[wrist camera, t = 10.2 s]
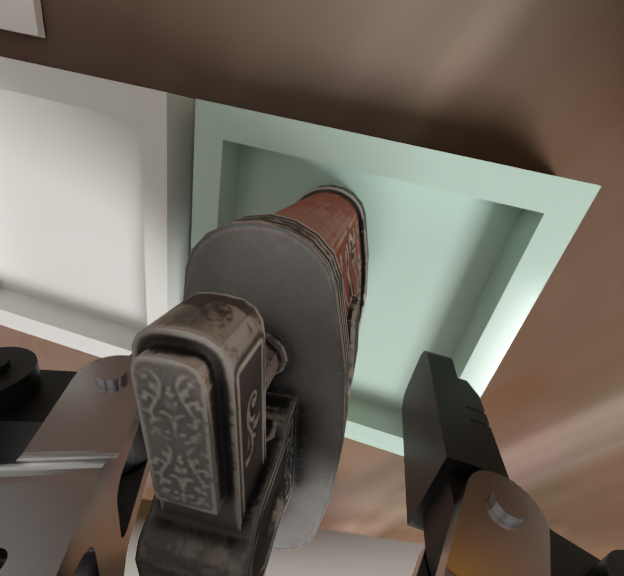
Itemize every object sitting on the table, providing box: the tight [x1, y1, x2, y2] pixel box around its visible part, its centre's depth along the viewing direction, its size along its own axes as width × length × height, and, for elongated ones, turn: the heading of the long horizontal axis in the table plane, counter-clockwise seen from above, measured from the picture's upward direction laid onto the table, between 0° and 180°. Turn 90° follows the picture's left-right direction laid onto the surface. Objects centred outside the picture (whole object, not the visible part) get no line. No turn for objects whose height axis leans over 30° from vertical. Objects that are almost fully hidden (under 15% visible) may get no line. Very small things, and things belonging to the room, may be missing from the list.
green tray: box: [191, 99, 601, 456], centre depth 13 cm, size 12×12×2 cm
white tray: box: [0, 56, 196, 358], centre depth 15 cm, size 12×12×2 cm
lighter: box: [131, 185, 369, 576], centre depth 9 cm, size 8×3×10 cm, turn 177°
